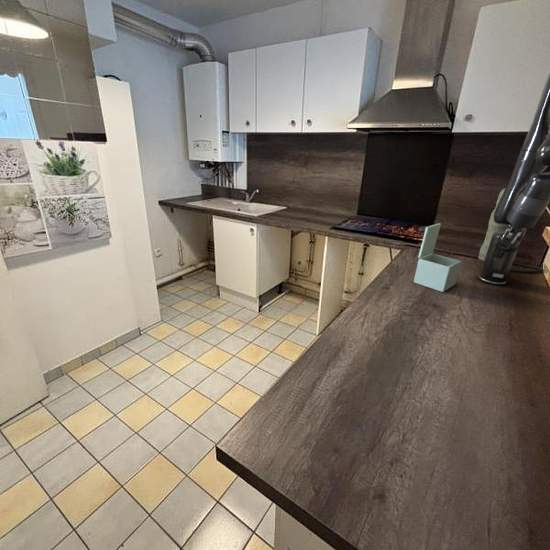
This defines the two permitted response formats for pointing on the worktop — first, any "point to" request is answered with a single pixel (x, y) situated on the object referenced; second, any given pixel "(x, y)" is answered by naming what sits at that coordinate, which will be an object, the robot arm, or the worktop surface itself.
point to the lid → (429, 239)
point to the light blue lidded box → (437, 272)
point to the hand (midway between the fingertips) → (501, 252)
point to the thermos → (492, 230)
